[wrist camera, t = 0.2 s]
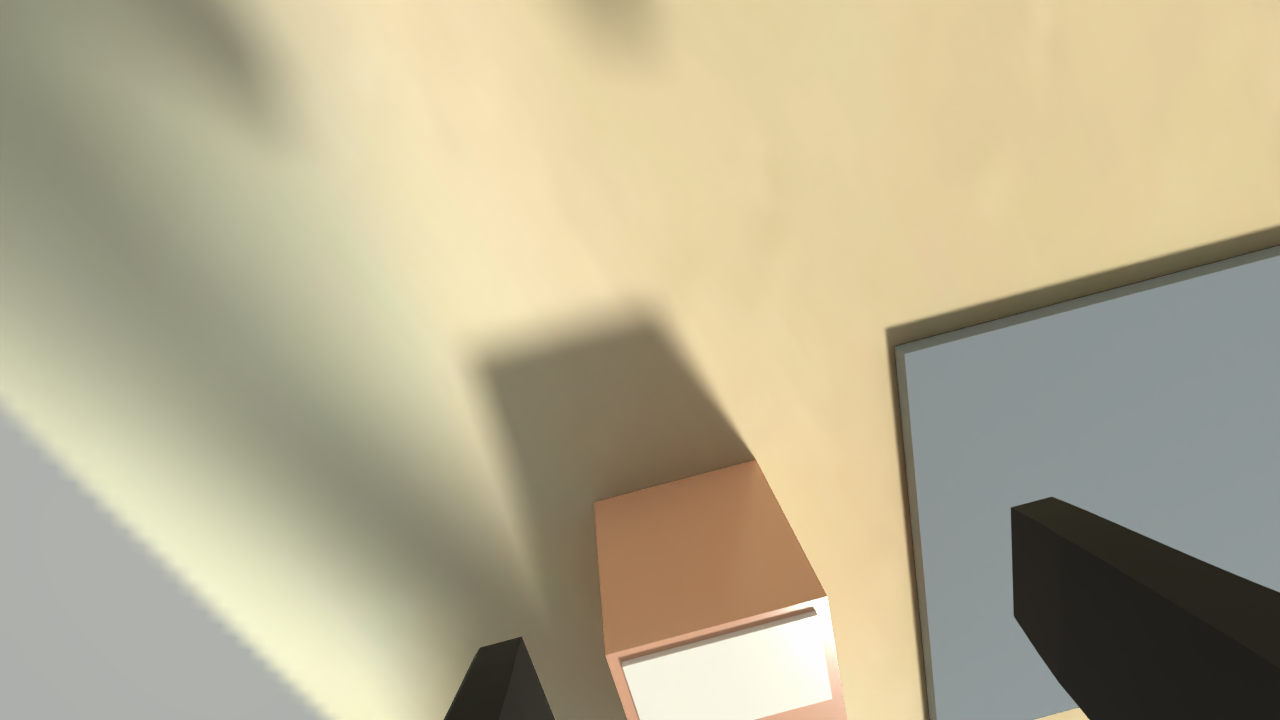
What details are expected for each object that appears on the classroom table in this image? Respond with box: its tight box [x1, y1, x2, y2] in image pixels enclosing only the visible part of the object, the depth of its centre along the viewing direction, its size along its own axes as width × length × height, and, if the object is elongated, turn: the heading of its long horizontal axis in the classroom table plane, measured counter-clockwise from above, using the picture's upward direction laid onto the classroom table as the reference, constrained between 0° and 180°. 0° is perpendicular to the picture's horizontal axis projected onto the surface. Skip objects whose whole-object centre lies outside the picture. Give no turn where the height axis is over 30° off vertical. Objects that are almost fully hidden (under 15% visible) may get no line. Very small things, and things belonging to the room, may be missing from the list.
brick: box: [594, 460, 847, 720], centre depth 19 cm, size 9×5×6 cm, turn 13°
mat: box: [895, 245, 1280, 720], centre depth 22 cm, size 16×14×1 cm
